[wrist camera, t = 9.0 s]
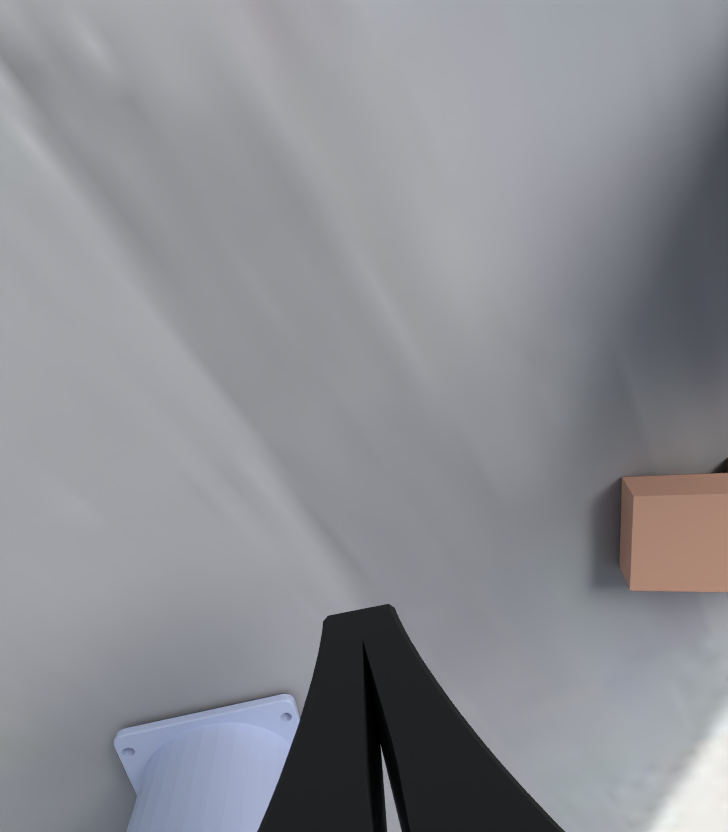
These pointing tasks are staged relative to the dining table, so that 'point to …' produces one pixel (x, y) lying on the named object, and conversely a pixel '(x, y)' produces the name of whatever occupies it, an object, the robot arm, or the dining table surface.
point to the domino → (675, 532)
